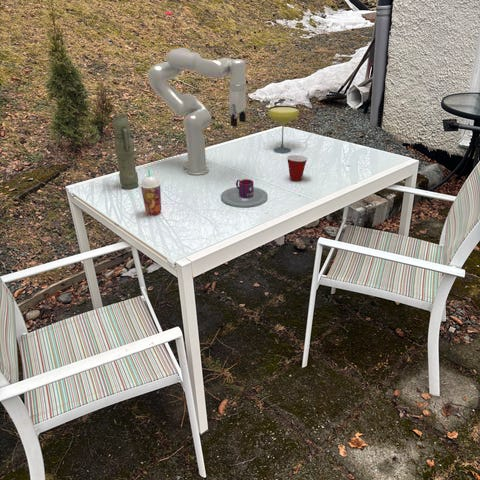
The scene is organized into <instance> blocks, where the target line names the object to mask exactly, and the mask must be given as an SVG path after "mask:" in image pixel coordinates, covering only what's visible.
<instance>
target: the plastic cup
mask: <svg viewBox="0 0 480 480" xmlns="http://www.w3.org/2000/svg"><path fill="white" fill-rule="evenodd" d="M286 159H287V165H288V172H289V178H290V181H292V182H300V181H302V179H303V175H304V172H305V167H306V163H307V162H308V159H309V158H308V157H307V156H305V155H302V154H300V155H299V154H291V155H290V154H289V155H287V156H286Z"/></svg>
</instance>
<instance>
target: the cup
mask: <svg viewBox="0 0 480 480" xmlns="http://www.w3.org/2000/svg"><path fill="white" fill-rule="evenodd" d="M254 182H255V181H254V180H253V179H248V178H247V179H246V178H245V179H244V178H243V179H237V180H236V182H235V187H237V188H238V190H239V196H240V197H242V198H251V197H253V187H254Z"/></svg>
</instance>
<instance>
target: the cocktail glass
mask: <svg viewBox="0 0 480 480" xmlns="http://www.w3.org/2000/svg"><path fill="white" fill-rule="evenodd" d="M299 114H300V109H299V108H298V107H296V106H292V105H276V106H275V105H274V106H271V107H269V108H268V110H267V115H268V117H269V118H270V119H272V120H273V121H275V122H276V123H278V124H280V127H281V128H282V129H281V130H282V131H281V133H282V134H281V145H280V147H275V148H274V149H273V150H272V151H273V152H274V153H276V154H277V153H278V154H287V153H290V152H292V149H291V148H289V147H285V146H284V127H285V126H286V125H287V124H288V123H290V122H292V121H294V120H295V119H297V118H298V117H299Z"/></svg>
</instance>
